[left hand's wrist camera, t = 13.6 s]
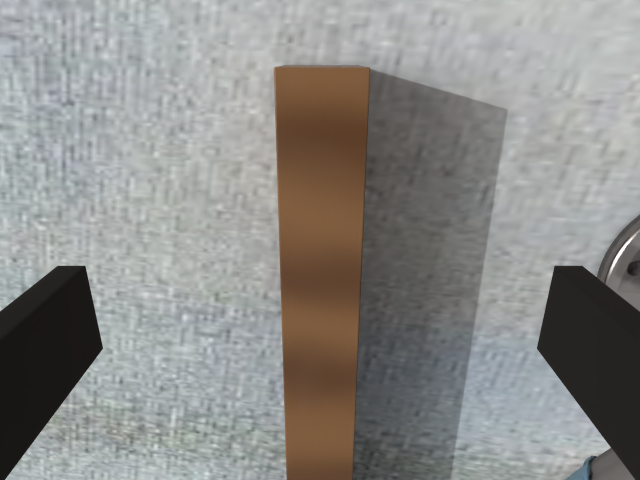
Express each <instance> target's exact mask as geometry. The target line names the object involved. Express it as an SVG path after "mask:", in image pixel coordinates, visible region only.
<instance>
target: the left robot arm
mask: <svg viewBox="0 0 640 480" xmlns="http://www.w3.org/2000/svg"><path fill="white" fill-rule="evenodd" d="M102 349H103V346H102V342H101V337H100V332H99V328H98V323H97V318H96V314H95V309H94V304H93V300H92V295H91V290H90V286H89V281H88V276H87V272H86V267H85V266H57V267H56V268H55V269H53V270H52V271H51V272H50V273H48V274H47V275H46V276H44V277H43V278H42V279H41V280H39V281H38V282H37V283H36V284H34V285H33V286H32V287H31V288H29V289H28V290H27V291H26V292H24V293H23V294H22V295H20V296H19V297H18V298H17V299H15V300H14V301H13V302H12V303H10V304H9V305H8V306H7V307H5V308H4V309H3V310H2V311H0V480H5V479H6V478H7V476H8V475H9V473H10V472H11V471H12V469H13V468H14V467H15V465H16V464H17V463H18V461H19V460H20V459H21V457H22V456H23V455H24V453H25V452H26V451H27V449H28V448H29V447H30V445H31V444H32V443H33V441H34V440H35V439H36V437H37V436H38V435H39V433H40V432H41V431H42V429H43V428H44V427H45V425H46V424H47V423H48V421H49V420H50V419H51V417H52V416H53V415H54V413H55V412H56V411H57V409H58V408H59V407H60V405H61V404H62V403H63V401H64V400H65V399H66V397H67V396H68V395H69V393H70V392H71V391H72V389H73V388H74V387H75V385H76V384H77V383H78V381H79V380H80V379H81V377H82V376H83V375H84V373H85V372H86V371H87V369H88V368H89V367H90V365H91V364H92V363H93V361H94V360H95V359H96V357H97V356H98V355H99V353H100V352H101V351H102ZM537 349H538V351H539V352H540V353H541V355H542V356H543V357H544V359H545V360H546V361H547V363H548V364H549V365H550V367H551V368H552V369H553V371H554V372H555V373H556V375H557V376H558V377H559V379H560V380H561V381H562V383H563V384H564V385H565V387H566V388H567V389H568V391H569V392H570V393H571V395H572V396H573V397H574V399H575V400H576V401H577V403H578V404H579V405H580V407H581V408H582V409H583V411H584V412H585V413H586V415H587V416H588V417H589V419H590V420H591V421H592V423H593V424H594V425H595V427H596V428H597V429H598V431H599V432H600V433H601V435H602V436H603V437H604V439H605V440H606V441H607V443H608V444H609V445H610V447H611V448H610V449H609V450H607V451H605V452H604V453H602V454H601V455H599V456H598V457H597V456H591V457H589V458H587V459H586V460H585V462H584V464H583V466H582V467H581V468H580V469H578V470H577V471H576V472H574V473H573V474H572V475H570V476H569V477H568V478H566V479H565V480H640V215H639V216H638V217H636V218H635V219H634V220H633V221H632V222H631V223H629V224H628V225H627V226H626V227H625V228H624V229H623V231H622V232H621V233H620V234H619V235H618V236H617V237H616V239H615V240H614V242H613V243H612V244H611V246H610V247H609V249H608V251H607V252H606V254H605V256H604V258H603V260H602V263H601V266H600V268H599V272H598V275H597V277H596V276H594V275H593V274H592V273H590V272H589V271H588V270H587V269H585V268H584V267H583V266H555V267H554V272H553V276H552V281H551V286H550V290H549V295H548V300H547V304H546V309H545V314H544V318H543V323H542V328H541V332H540V337H539V342H538V346H537Z"/></svg>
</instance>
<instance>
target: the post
mask: <svg viewBox="0 0 640 480" xmlns="http://www.w3.org/2000/svg"><path fill="white" fill-rule="evenodd" d="M274 84H275V116H276V148H277V180H278V213H279V245H280V277H281V309H282V341H283V373H284V405H285V438H286V470H287V480H352V477H353V454H354V431H355V408H356V385H357V362H358V339H359V315H360V292H361V269H362V246H363V223H364V200H365V177H366V154H367V131H368V108H369V85H370V68H368V67H363V66H352V65H284V66H279V67H275V68H274Z"/></svg>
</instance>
